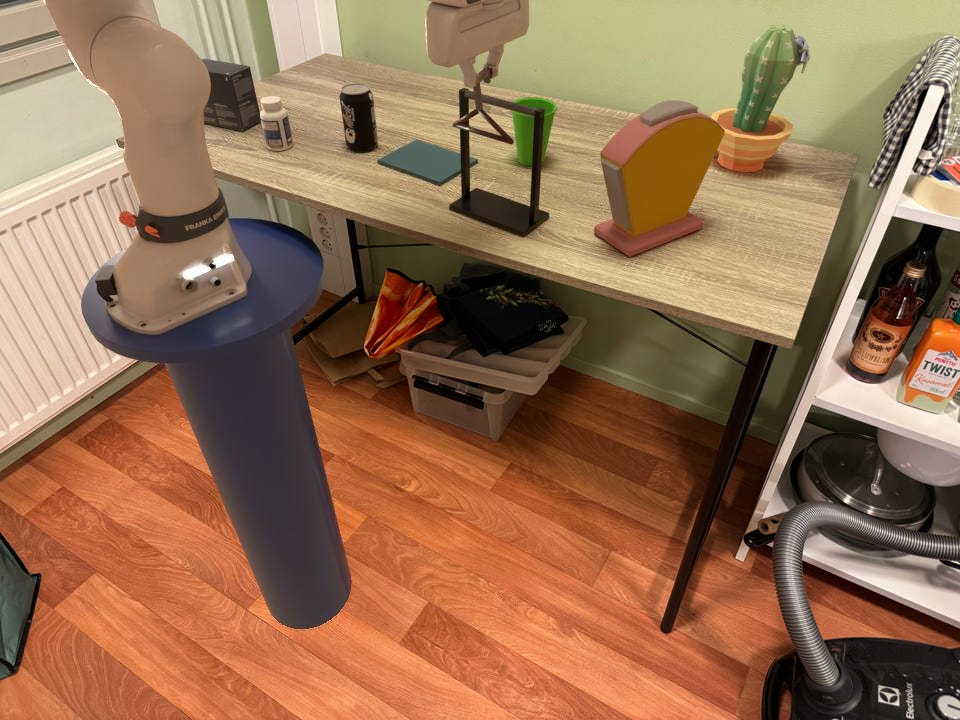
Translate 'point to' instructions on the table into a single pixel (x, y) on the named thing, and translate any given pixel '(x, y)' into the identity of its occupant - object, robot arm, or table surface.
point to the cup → (532, 127)
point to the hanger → (458, 124)
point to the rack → (491, 205)
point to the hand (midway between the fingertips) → (481, 81)
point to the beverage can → (358, 117)
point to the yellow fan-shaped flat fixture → (656, 175)
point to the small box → (231, 96)
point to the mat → (426, 162)
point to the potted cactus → (760, 100)
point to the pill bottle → (275, 124)
